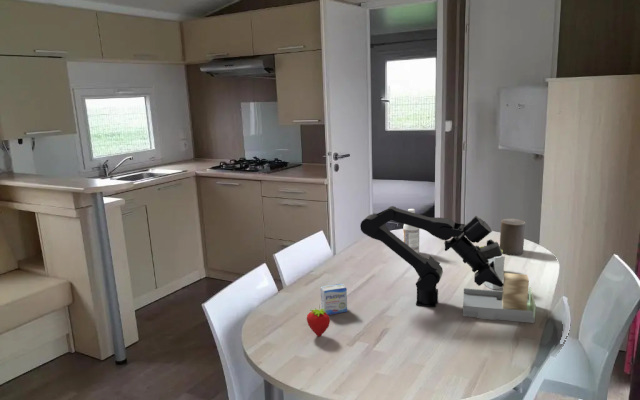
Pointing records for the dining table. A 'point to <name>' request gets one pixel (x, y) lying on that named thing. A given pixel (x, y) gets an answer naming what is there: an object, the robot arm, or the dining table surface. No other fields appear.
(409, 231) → the bath foam
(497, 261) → the skincare box
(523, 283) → the block
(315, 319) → the strawberry
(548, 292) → the dining table surface
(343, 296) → the medicine box
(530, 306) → the lane
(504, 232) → the pillar candle
